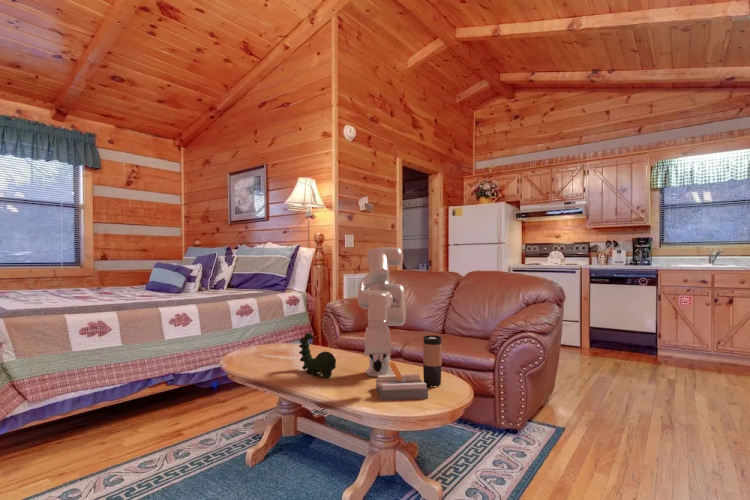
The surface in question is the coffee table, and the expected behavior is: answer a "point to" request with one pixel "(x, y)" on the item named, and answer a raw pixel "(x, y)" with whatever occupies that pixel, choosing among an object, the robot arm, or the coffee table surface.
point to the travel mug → (432, 360)
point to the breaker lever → (396, 372)
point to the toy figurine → (316, 359)
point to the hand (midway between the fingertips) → (377, 370)
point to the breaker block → (401, 387)
